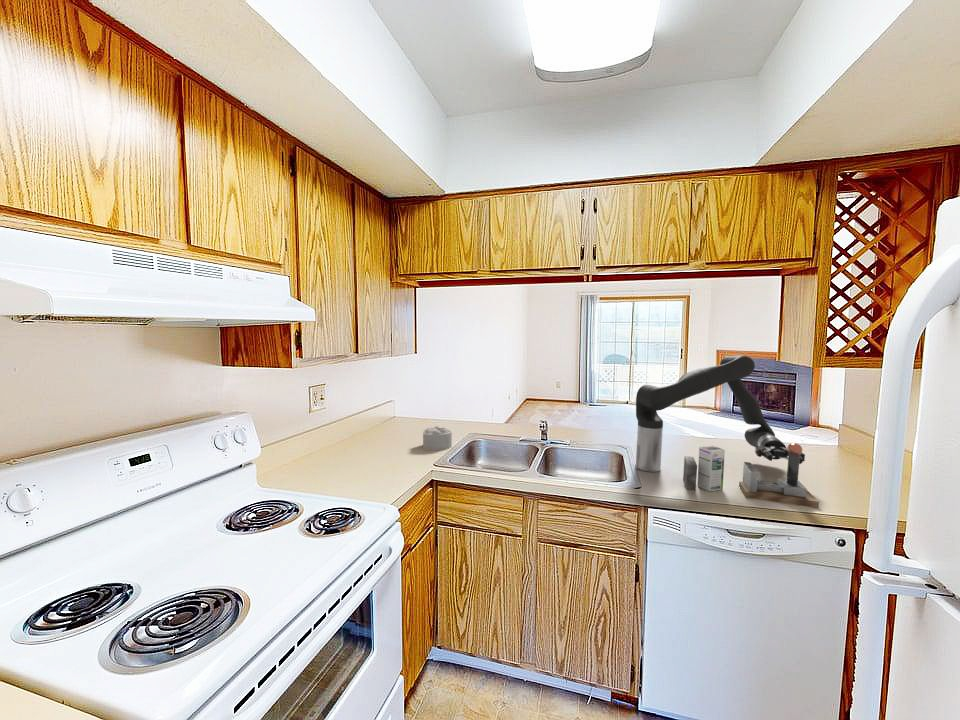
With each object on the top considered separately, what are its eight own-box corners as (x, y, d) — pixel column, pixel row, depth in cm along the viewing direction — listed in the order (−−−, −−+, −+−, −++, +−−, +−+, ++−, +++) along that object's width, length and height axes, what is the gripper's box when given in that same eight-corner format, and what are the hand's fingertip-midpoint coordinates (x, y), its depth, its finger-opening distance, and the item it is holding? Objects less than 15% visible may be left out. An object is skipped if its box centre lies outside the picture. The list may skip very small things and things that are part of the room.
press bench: (686, 489, 146) (687, 464, 145) (683, 479, 155) (684, 455, 154) (818, 507, 132) (821, 480, 131) (806, 495, 142) (808, 469, 141)
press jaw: (749, 491, 139) (753, 442, 137) (742, 480, 148) (745, 435, 146) (807, 499, 133) (812, 448, 132) (796, 487, 142) (800, 440, 141)
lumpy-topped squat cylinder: (424, 443, 196) (424, 425, 196) (451, 443, 197) (451, 425, 197) (422, 450, 186) (422, 431, 185) (451, 450, 187) (451, 431, 186)
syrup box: (709, 491, 144) (712, 451, 142) (696, 485, 150) (699, 446, 148) (722, 490, 145) (725, 449, 144) (709, 483, 151) (712, 444, 150)
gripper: (750, 435, 162) (762, 446, 147) (794, 439, 157) (811, 451, 142) (749, 453, 163) (760, 467, 148) (792, 458, 158) (809, 472, 143)
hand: (785, 459), depth 145 cm, fingers open, 8 cm apart
